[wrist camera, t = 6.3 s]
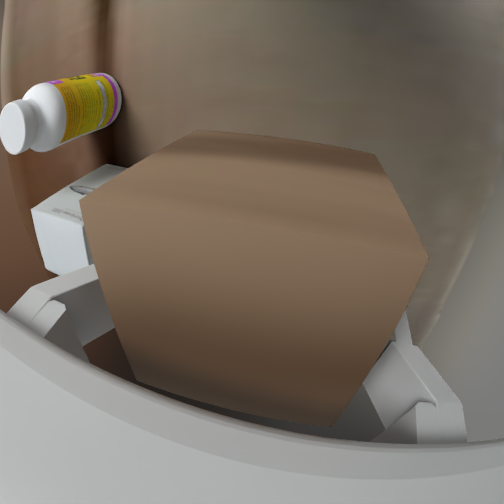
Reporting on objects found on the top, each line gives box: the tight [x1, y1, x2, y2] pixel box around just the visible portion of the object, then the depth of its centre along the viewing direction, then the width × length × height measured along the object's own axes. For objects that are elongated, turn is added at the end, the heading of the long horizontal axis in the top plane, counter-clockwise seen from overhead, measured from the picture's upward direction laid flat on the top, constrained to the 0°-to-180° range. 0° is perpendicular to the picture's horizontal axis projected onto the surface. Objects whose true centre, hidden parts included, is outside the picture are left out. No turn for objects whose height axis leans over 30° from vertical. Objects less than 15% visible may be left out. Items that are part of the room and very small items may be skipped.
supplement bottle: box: [0, 73, 121, 155], centre depth 22 cm, size 7×7×13 cm
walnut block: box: [79, 130, 429, 427], centre depth 7 cm, size 5×5×5 cm
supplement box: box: [31, 164, 128, 276], centre depth 28 cm, size 7×7×13 cm
